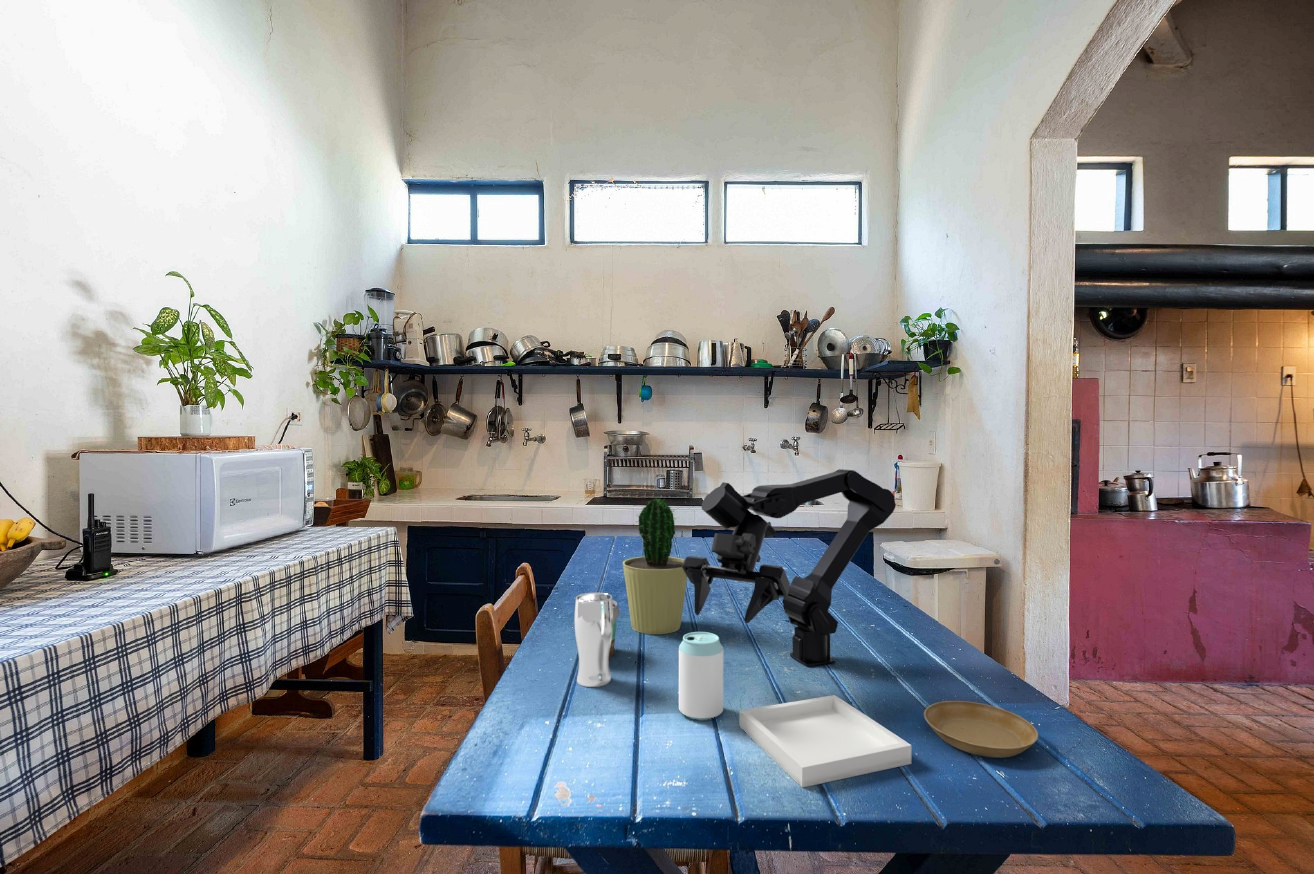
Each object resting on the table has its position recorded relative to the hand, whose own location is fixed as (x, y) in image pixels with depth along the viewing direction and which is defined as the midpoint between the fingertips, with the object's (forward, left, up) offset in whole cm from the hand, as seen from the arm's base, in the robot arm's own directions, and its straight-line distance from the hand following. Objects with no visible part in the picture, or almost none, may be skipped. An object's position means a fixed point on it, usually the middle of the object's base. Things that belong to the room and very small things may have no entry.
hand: (720, 617), depth 105 cm
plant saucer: (-29, +26, -14) cm, 41 cm away
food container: (+14, -25, -13) cm, 32 cm away
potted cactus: (-2, -39, -13) cm, 41 cm away
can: (+6, +5, -13) cm, 15 cm away
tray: (-6, +20, -13) cm, 25 cm away
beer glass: (+19, -13, -13) cm, 26 cm away
